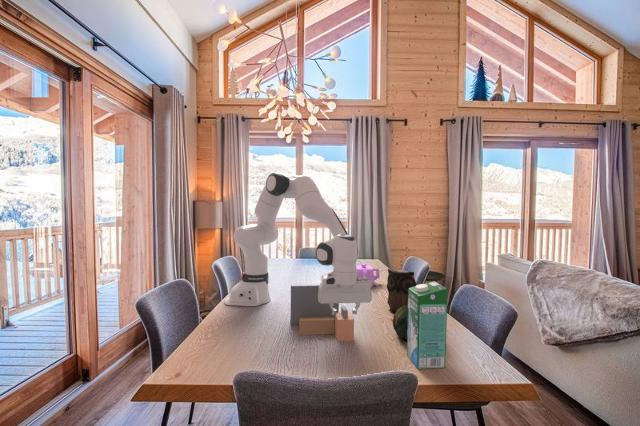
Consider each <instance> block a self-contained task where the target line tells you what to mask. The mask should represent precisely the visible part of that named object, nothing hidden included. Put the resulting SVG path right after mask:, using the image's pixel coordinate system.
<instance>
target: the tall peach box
mask: <svg viewBox="0 0 640 426" xmlns="http://www.w3.org/2000/svg"><path fill="white" fill-rule="evenodd" d="M340 311H341V312H339V313H336V315H335V323H334V335H335V337H336V341H337V342H354V341H355V318H354V317H353V314H352V312H349V311H348V308H347V306H346V305H342V306H341V307H340Z"/></svg>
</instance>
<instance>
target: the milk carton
mask: <svg viewBox="0 0 640 426" xmlns="http://www.w3.org/2000/svg"><path fill="white" fill-rule="evenodd" d="M448 292H449V291H448V288H447V287H445V286H443V285H442V284H440V283H439V282H436V281H435V280H434V281H430V282H426V283H418V284H417V285H416V286H415V287H411V288H409V290H408V333H407V339H406V340H407V343H406V346H407V347H406V356H407V357H408V358H409V359H410V361H411V362H412V364H413V365H414V366H415V368H416V369H418V370H421V369H422V370H423V369H424V370H425V369H427V370H428V369H446V359H447V358H446V357H447V354H446V353H447V321H448V319H447V318H448Z"/></svg>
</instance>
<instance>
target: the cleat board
mask: <svg viewBox="0 0 640 426" xmlns="http://www.w3.org/2000/svg"><path fill="white" fill-rule="evenodd" d="M319 285H320V284H291V285H290V316H289V317H290V319H289V320H290V325H298V328H299V335H303V336H304V335H330V334H332V335H333V334H334V335H335V315H332V309H331V307H330V306H329V303H327V304H321V303H319V301H318V289H319ZM332 307H333V309H336V313H340V311H339V308H340V303H333V306H332Z"/></svg>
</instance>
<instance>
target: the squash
mask: <svg viewBox="0 0 640 426" xmlns="http://www.w3.org/2000/svg"><path fill="white" fill-rule="evenodd" d="M392 326H393V327H392V328H393V329H394V331H395V333H396V335H397V336H398V337H399V338H401V339H403V340H404V339H405V340H407V333H408V305H405V306H402V307H401V308H399V309H398V310H397V311H396V313H395V314H394V315H393V317H392Z"/></svg>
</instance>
